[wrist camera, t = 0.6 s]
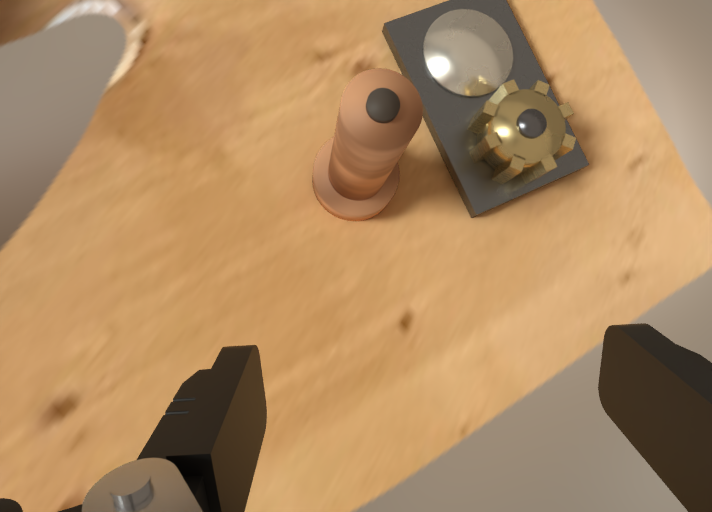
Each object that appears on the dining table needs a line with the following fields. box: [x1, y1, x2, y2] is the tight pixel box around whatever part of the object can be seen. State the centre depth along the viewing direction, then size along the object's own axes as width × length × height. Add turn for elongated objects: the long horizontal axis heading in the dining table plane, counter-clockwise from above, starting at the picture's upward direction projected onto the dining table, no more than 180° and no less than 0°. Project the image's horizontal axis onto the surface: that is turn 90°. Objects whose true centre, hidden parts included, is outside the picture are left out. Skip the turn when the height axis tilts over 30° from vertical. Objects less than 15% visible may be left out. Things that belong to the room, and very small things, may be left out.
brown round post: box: [313, 68, 423, 221], centre depth 28 cm, size 6×6×12 cm
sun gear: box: [467, 79, 576, 184], centre depth 33 cm, size 7×7×3 cm
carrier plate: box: [382, 0, 589, 218], centre depth 36 cm, size 16×10×1 cm, turn 25°
